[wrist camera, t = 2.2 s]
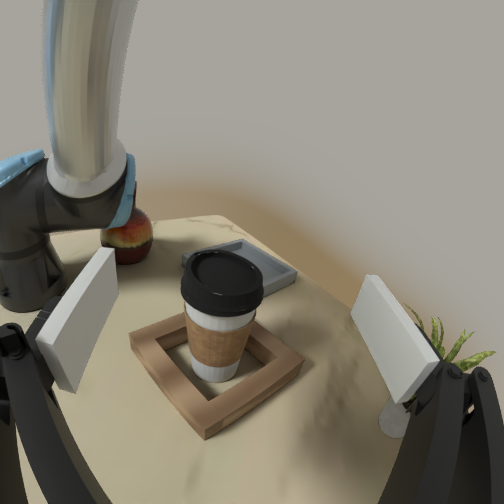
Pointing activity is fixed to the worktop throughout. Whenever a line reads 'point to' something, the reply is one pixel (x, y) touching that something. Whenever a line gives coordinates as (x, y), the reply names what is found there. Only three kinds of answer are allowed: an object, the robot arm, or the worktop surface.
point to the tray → (258, 264)
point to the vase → (130, 237)
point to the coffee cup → (219, 310)
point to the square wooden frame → (231, 401)
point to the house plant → (394, 414)
